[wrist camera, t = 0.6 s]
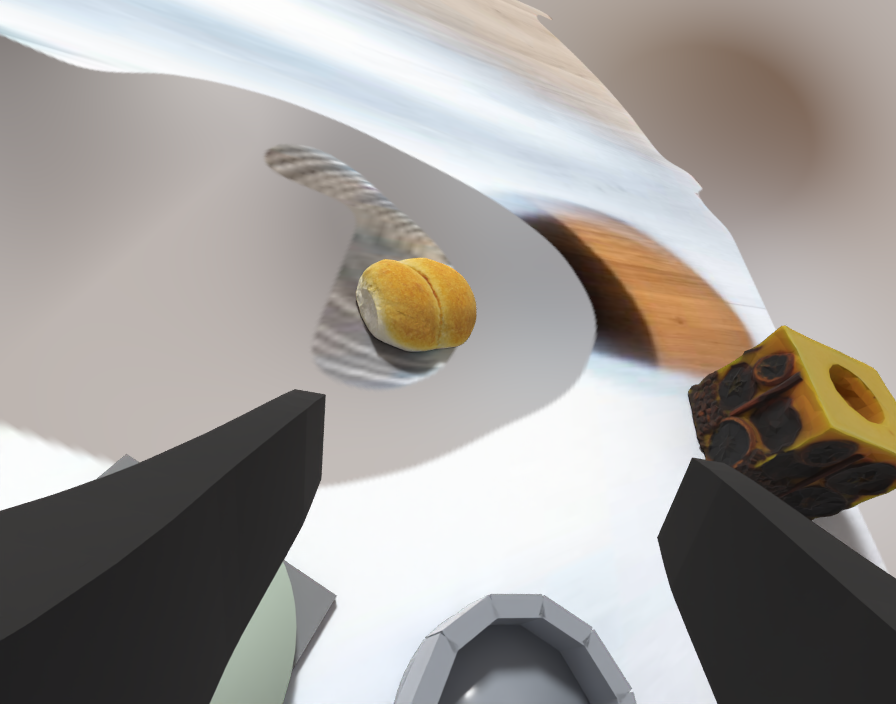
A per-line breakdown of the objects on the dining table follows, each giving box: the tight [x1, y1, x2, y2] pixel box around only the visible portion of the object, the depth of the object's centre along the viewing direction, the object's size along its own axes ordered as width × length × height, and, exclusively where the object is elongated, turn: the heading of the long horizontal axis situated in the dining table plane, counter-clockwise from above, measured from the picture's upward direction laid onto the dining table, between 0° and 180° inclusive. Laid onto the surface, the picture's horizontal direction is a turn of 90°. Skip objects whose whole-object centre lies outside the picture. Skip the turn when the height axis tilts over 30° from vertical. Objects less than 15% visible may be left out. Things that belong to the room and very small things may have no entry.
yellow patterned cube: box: [688, 326, 896, 520], centre depth 37 cm, size 10×10×10 cm
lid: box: [210, 562, 297, 704], centre depth 16 cm, size 13×13×4 cm
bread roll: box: [356, 258, 476, 352], centre depth 34 cm, size 8×9×4 cm
